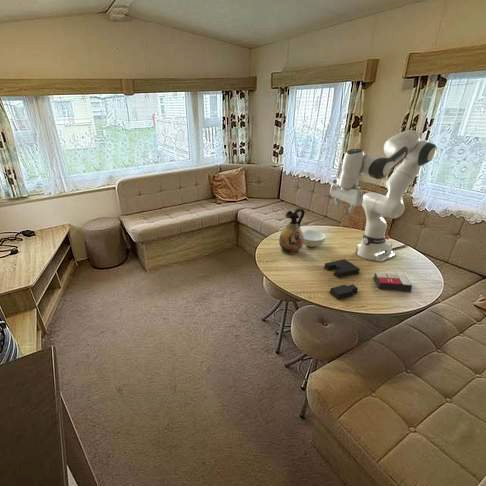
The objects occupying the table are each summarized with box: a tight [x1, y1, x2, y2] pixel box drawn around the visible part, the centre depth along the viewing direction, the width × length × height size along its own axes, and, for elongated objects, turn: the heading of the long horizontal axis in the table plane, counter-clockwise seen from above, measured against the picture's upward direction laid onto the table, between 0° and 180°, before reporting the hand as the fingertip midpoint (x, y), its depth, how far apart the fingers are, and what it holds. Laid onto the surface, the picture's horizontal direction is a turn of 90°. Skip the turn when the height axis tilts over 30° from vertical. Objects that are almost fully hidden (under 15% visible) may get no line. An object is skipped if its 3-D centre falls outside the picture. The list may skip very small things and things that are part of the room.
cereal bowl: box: [301, 229, 326, 248], centre depth 203 cm, size 17×17×7 cm
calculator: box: [373, 272, 413, 292], centre depth 159 cm, size 11×4×15 cm
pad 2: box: [329, 284, 359, 300], centre depth 153 cm, size 13×6×3 cm, turn 108°
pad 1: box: [324, 258, 360, 279], centre depth 173 cm, size 14×12×3 cm
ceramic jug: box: [278, 207, 305, 255], centre depth 190 cm, size 17×15×30 cm
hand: (343, 209), depth 155 cm, fingers open, 8 cm apart
